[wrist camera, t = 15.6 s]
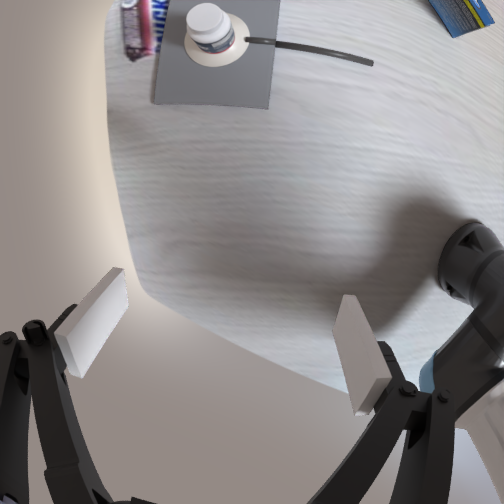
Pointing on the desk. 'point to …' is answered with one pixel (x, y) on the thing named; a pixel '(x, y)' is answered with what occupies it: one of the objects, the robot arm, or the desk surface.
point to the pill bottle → (210, 28)
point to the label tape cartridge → (462, 15)
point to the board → (225, 57)
